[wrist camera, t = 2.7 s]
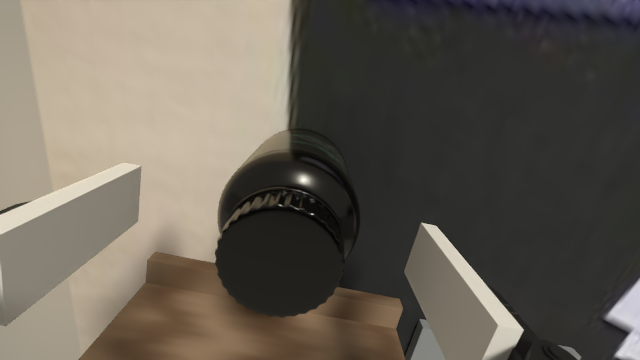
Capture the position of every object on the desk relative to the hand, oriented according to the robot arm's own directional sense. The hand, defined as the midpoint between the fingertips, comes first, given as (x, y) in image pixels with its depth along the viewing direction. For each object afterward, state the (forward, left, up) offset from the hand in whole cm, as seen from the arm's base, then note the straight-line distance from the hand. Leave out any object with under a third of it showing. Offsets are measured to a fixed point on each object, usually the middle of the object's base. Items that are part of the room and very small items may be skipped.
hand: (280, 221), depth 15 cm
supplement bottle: (0, 0, -9) cm, 9 cm away
